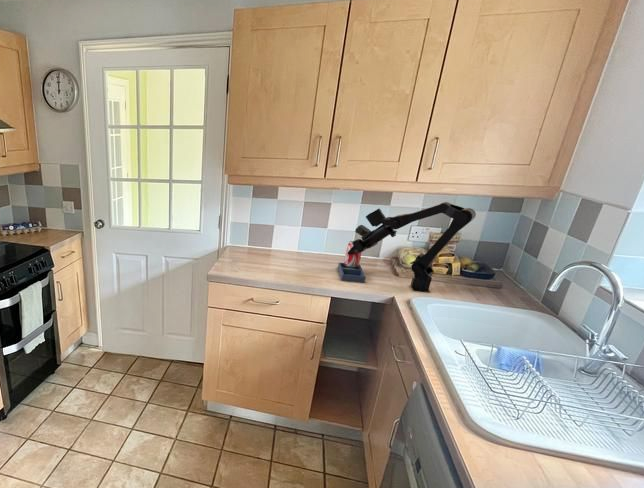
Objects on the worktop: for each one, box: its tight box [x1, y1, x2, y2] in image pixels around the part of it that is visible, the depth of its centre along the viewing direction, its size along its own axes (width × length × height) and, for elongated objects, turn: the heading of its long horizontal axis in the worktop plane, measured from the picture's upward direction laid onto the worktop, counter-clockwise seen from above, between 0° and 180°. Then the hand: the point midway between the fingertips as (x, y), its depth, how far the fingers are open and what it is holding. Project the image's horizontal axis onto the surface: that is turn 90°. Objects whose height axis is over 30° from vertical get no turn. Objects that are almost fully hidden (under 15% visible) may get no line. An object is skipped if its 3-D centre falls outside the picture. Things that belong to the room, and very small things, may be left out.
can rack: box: [337, 262, 367, 284], centre depth 204 cm, size 10×19×3 cm, turn 163°
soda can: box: [343, 240, 363, 267], centre depth 205 cm, size 7×7×12 cm
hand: (350, 252), depth 205 cm, fingers closed on soda can, 7 cm apart
